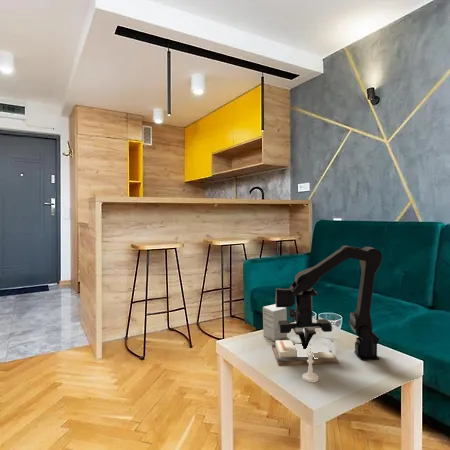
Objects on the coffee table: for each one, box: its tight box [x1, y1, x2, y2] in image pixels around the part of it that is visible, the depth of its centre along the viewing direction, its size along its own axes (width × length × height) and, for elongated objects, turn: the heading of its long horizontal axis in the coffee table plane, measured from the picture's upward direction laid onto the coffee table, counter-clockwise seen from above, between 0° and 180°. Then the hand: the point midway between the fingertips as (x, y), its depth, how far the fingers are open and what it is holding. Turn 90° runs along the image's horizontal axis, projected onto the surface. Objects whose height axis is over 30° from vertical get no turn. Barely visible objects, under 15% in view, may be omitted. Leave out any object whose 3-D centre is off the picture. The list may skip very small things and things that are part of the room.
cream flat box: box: [274, 339, 297, 357], centre depth 122 cm, size 6×10×2 cm, turn 1°
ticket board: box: [271, 342, 339, 366], centre depth 122 cm, size 21×14×2 cm, turn 91°
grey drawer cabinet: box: [262, 303, 288, 342], centre depth 139 cm, size 7×7×13 cm
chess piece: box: [302, 347, 319, 383], centre depth 105 cm, size 5×5×10 cm
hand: (304, 348), depth 122 cm, fingers closed
